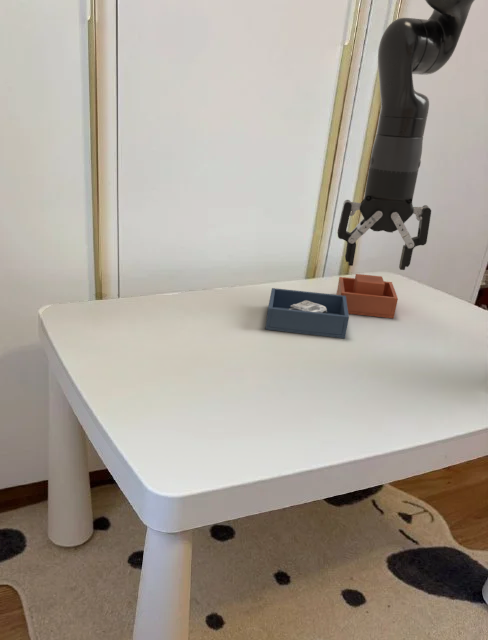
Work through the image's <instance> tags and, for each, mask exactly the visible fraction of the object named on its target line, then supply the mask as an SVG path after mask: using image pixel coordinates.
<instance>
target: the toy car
mask: <svg viewBox="0 0 488 640" xmlns="http://www.w3.org/2000/svg"><path fill="white" fill-rule="evenodd" d="M290 310H299V311H308V312H318V313H327V309H326V307H325V306H323V305H320V304H317V303H313V302H310V301H307V300H305V301H303V302H300V303H297V304H293V305H291V308H290Z"/></svg>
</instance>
